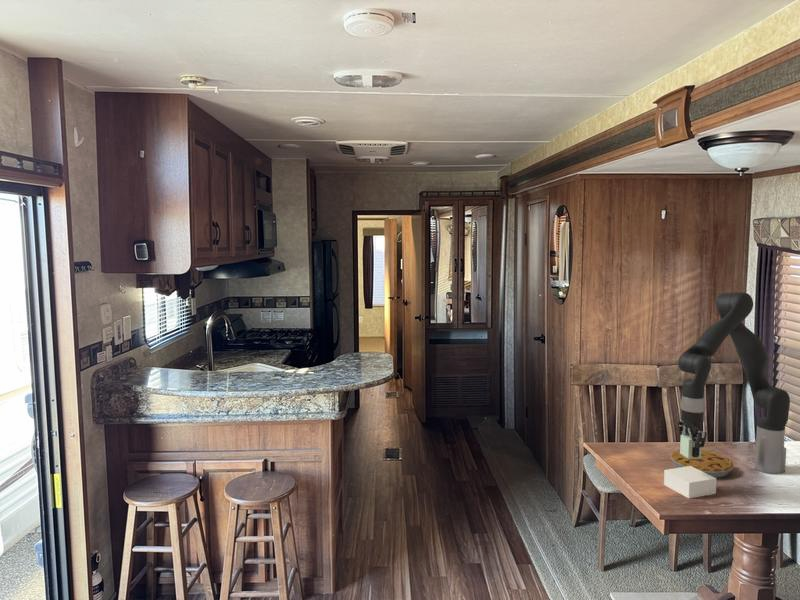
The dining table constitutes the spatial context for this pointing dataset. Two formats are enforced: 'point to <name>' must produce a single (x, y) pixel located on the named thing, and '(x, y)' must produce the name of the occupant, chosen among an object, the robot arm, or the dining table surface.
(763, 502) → the dining table surface
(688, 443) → the sage block
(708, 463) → the pie
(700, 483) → the base box
